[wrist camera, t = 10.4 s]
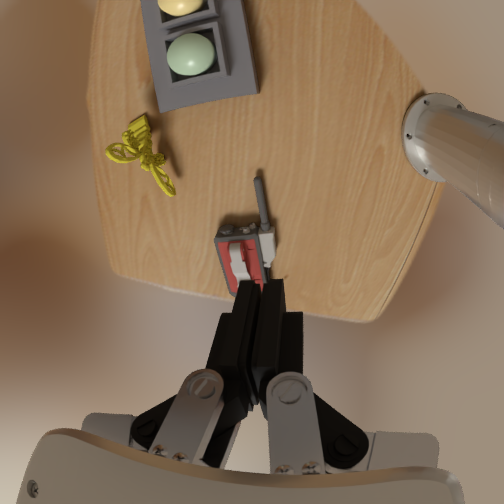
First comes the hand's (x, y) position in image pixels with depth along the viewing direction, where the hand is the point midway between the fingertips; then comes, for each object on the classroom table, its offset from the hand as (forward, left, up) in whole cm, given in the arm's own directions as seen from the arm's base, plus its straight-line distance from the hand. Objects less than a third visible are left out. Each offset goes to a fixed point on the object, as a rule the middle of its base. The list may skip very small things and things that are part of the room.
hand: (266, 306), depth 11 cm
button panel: (+8, -22, -27) cm, 36 cm away
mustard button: (+8, -22, -24) cm, 33 cm away
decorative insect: (+18, -2, -27) cm, 33 cm away
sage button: (+8, -14, -24) cm, 29 cm away
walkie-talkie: (+7, +13, -28) cm, 31 cm away
